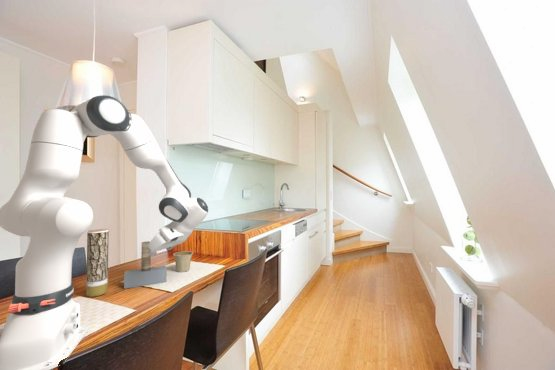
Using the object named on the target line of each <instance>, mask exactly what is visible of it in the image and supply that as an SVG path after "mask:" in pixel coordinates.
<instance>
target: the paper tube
mask: <svg viewBox="0 0 555 370" xmlns="http://www.w3.org/2000/svg"><path fill="white" fill-rule="evenodd" d="M109 232H110V231H109V229H107V228H97V229H88V230H87V231H86V233H87V235H86V237H87V239H86V243H87V245H86V286H85V287H86V296H87V297H90V298H95V297H100V296H102V295H105V294H106V293H107V292H108V290H109V289H108V288H109V286H108V285H109V284H108V283H109V281H108V280H109V236H110V235H109Z"/></svg>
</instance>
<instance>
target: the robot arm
mask: <svg viewBox="0 0 555 370" xmlns="http://www.w3.org/2000/svg"><path fill="white" fill-rule="evenodd" d="M106 135H111V136H113V137H114V138H115V139H116V140H117V141H118V142H119V144H120V146H121V147H122V149H123V151H124V154H126V155H125V156H127V158H128V159H129V161H130V162H131V163H132V164H133V165H134V166H135V167H137V168H141V169H144V170H146V169H147V170H150V171H151V170H152V171H153V172H155V174H156V175H157V176H158V178H159V180H160V181H161V182H162V184H163V186H164V188H165V194H164V196H162V199H161V200H160V201H159V203H158V210H159V213H160V214H161V215H162V216H163V217H165V218H167V219H168V220H170V221H171V222H170V223H168V224H166V225H164V226H162V227H160V229H159V230H158V231H159V232H157V233H156V234H155V235H154V236H153V238H152V239H151V240H150V241H149V242H150V243H149V244H148V248H149V249H150V250H151V252H150V255H151V257H153V256H156V255H157V252H159V251H161V250H167V251H171V250H172V249H173V248H174V247H175V246H178V245H181V244H183V243H184V242H186V240H188V238H189V237H190V236H191V235H192V233H193V232H194V230H195V229H196V227H198V226H199V225H200V224H201V223H202V222H203V220H204V219H205V218H206V217H207V215H208V213H209V207H208V204H207V203H206V201H205V200H204V199H202V198H201V197H192V193H191V190H190V189H189V187H188V186H187V185H185V184H184V183H183V182H182V181H181V180H180V178H179V177H178V176H177V174H176V172H175V171H174V169H173V168H172V167H173V166H172V165H171V164H170V162H169V161H168V159H167V158H166V157H165V155H164V154H163V153H164V152H163V151H162V149H161V148H160V145H159V144H158V142H157V140H156V138H155V136H154V135H153V133H152V131H151V129H150V128H149V127H148V126H147V124H146V122H145V121H144V119H143V118H142V117H141V116H139V115H138V114H135V113H131V111H130V110H128V109H127V107H126V106H125V105H124V103H123V102H121V101H120V100H119V99H118V98H116V97H113V96H111V95H97V96H94V97H92V98H89V99H86V100H83V101H82V102H80V103H78V104H77V105H76V106H74V107H72V108H71V109H69V110H66V109H62V108H50V109H47V110H44V111H43V112H42V113H40V116H39V118H38V120H37V122H36V124H35V127H34V130H33V133H32V136H31V140H30V145H29V146H30V147H29V150H28V157H27V161H26V166H25V170H24V173H23V175H22V176H21V177H22V178H21V179H20V181H19V183H18V185H17V187H16V189H15V191H14V193H13V194H12V196H11V197H10V199H9V200H8V201H7V202H6V203H5V204H3V205H2V206H1V207H0V228H1V229H3V230H4V231H6V232H8V233H10V234H13V235H15V236H18V237H28V238H30V239H29V243H28V247H27V249H26V252H25V253H24V255H23V257H21V258H20V259H19V260H18V261H17V262H16V265H15V279H14V281H15V282H14V287H15V288H14V294H13V295H12V299H11V302H10V304H9V306H8V310H7V313H8V314H7V316H6V321H5V323H4V327H3V328H2V329H3V330H2V332H1V335H0V370H54V369H55V368H57V367H59V366H58V364H59V362H60V361H61V360H63V359H65V358H67V357H68V358H69V357H70V356H71V354H72V353H73V351H74V350H75V349H76V347H77V346H78V345H79V343H81V341H82V340H83V339H84V338H85V336H86V335H87V333H88V327H87V326H81V310H80V309H81V307H80V305H81V304H80V303H78V301H76V300H74V298H73V297H74V291H75V290H74V289H75V288H74V283H73V282H72V269H73V268H72V267H73V258H74V257H73V256H74V253H75V249H76V247H77V244H78V243H79V240H80V238H81V237H82V235H84V234H85V233H87V232H88V231H89V230H90V227H91V226H92V224H93V222H94V212H93V209H92V208H91V206H90V205H89V204H88V203H87V202H85V201H83V200H79V199H76V198H72V197H70V196H69V197H68V196H65V194H66V192H67V191H68V189H69V187H70V186H71V185H72V184H73V183H75V182H76V181H77V180H78V178H79V177H80V171H81V165H82V159H83V154H84V153H83V152H84V151H83V150H84V144H85V143H84V142H85V140H86V138H96V137H101V136H106ZM68 358H67V359H68Z"/></svg>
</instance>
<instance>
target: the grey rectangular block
mask: <svg viewBox="0 0 555 370" xmlns="http://www.w3.org/2000/svg"><path fill="white" fill-rule="evenodd" d="M123 276H124V277H123V278H124V279H123V280H124V281H123V282H124V283H123V289H125V290H126V289H132V288H139V287H145V286H150V285H151V286H152V285H157V284H163V283H166V282H167V266H166V265H159V266H154V267H153V266H152V267H151V269H150V270H148V271H141V268H139V269H133V270H125V271H124V275H123Z"/></svg>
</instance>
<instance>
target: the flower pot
mask: <svg viewBox="0 0 555 370" xmlns="http://www.w3.org/2000/svg"><path fill="white" fill-rule="evenodd" d="M193 255H194V252H193V251H187V250H184V251H177V252H174V253H173V255H172V256H173V258H174V260H175V261H174V262H175V269H176V270H175V271H176V272H177V273H184V272H188V271H190V268H191V260H192V256H193Z"/></svg>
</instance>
